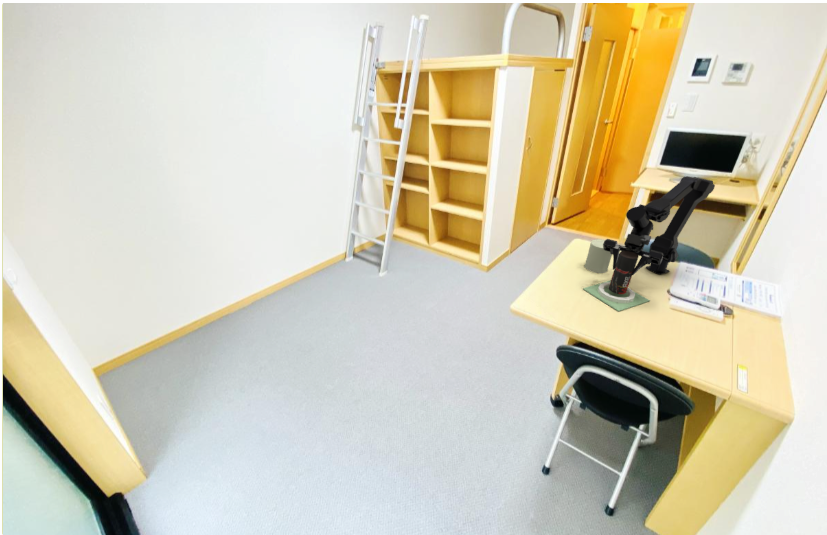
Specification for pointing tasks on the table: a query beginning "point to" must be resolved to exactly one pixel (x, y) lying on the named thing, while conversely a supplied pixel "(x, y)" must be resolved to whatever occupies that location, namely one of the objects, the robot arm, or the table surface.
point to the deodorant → (623, 272)
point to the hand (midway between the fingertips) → (622, 272)
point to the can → (597, 257)
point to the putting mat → (615, 296)
